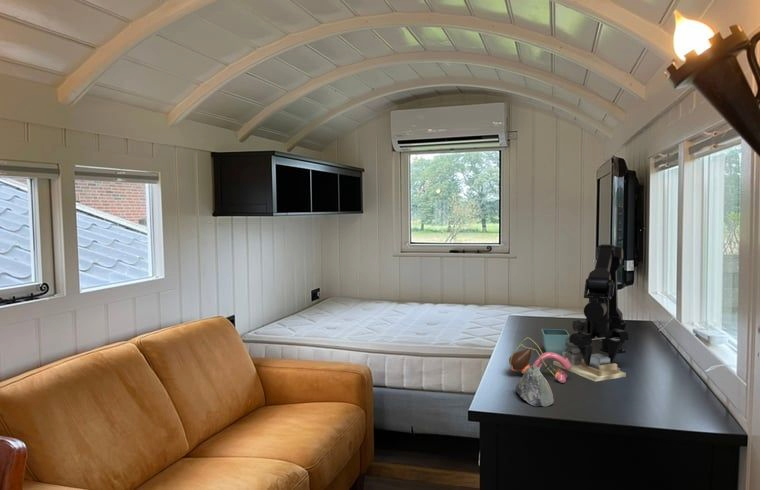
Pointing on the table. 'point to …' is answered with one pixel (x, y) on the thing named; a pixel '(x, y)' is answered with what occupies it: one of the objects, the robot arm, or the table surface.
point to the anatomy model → (538, 361)
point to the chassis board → (590, 368)
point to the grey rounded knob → (574, 348)
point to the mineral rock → (535, 388)
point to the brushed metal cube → (598, 360)
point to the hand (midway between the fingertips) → (599, 363)
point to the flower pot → (555, 340)
